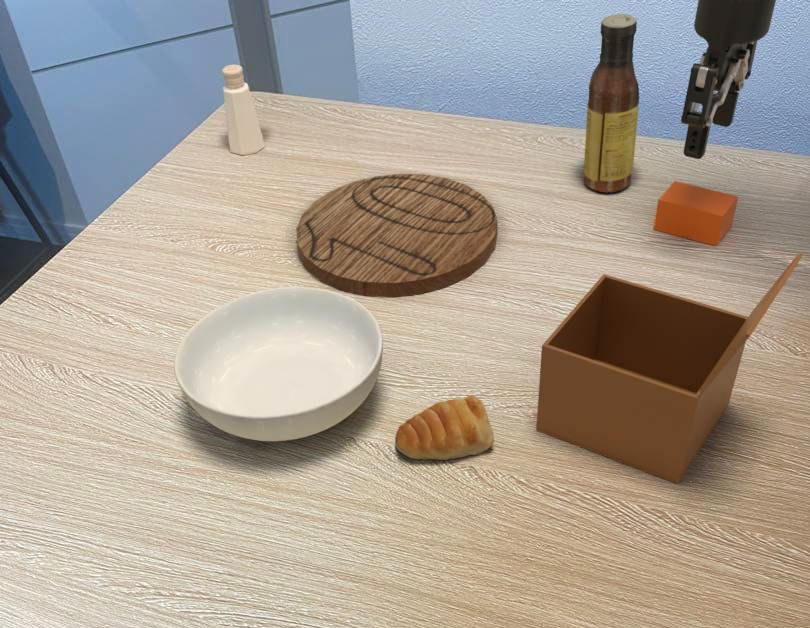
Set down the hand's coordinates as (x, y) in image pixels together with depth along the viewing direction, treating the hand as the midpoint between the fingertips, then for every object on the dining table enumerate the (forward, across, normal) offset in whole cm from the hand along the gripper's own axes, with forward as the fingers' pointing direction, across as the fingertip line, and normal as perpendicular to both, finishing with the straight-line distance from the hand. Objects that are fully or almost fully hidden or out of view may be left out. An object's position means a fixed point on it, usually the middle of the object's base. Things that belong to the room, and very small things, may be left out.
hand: (707, 139), depth 104 cm
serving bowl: (+12, -50, +24) cm, 56 cm away
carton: (+11, -35, -8) cm, 38 cm away
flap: (-4, -35, -16) cm, 39 cm away
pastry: (+11, -47, +6) cm, 49 cm away
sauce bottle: (+11, +5, +14) cm, 19 cm away
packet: (+11, 0, 0) cm, 11 cm away
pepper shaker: (+12, -9, +64) cm, 65 cm away
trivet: (+12, -19, +31) cm, 38 cm away
